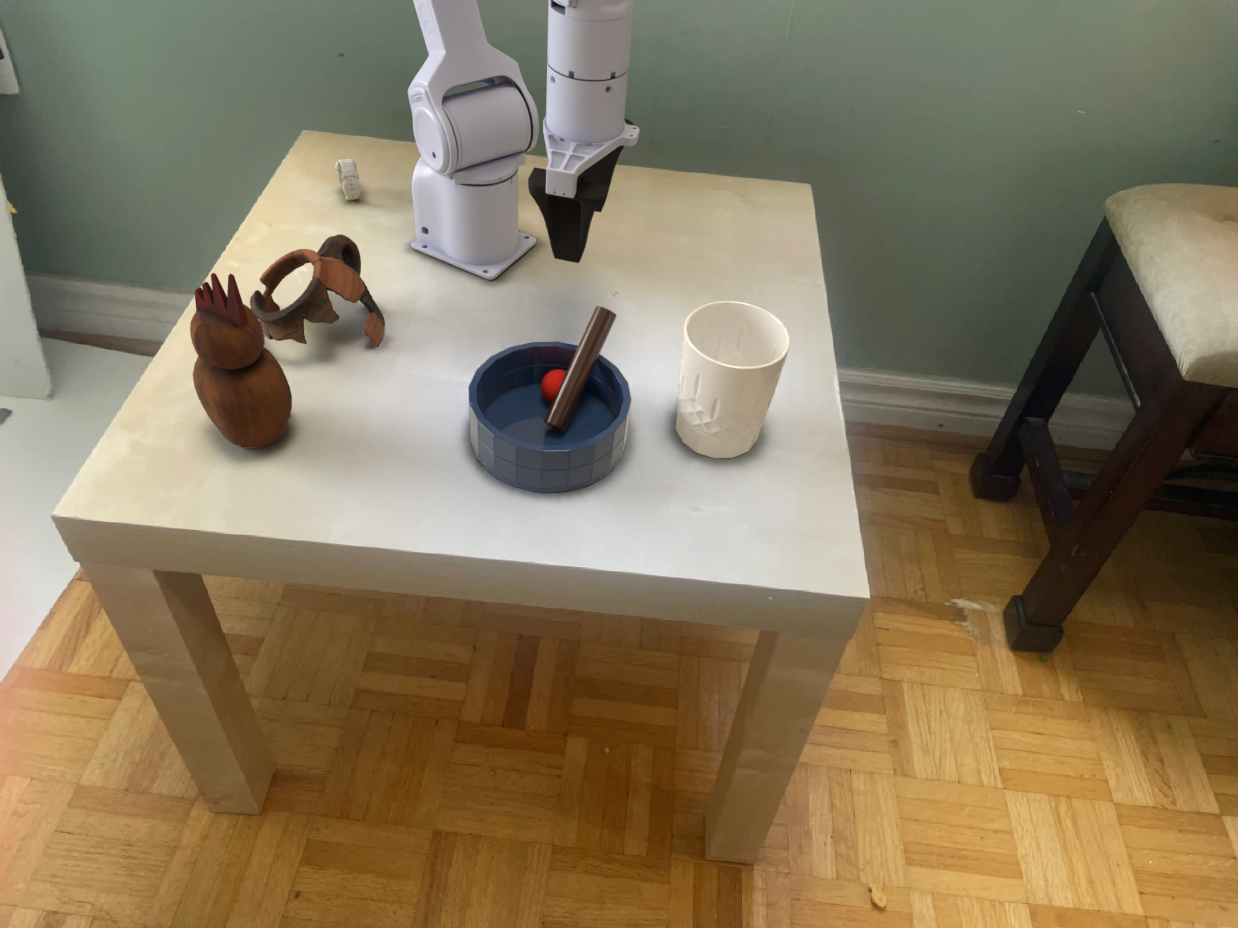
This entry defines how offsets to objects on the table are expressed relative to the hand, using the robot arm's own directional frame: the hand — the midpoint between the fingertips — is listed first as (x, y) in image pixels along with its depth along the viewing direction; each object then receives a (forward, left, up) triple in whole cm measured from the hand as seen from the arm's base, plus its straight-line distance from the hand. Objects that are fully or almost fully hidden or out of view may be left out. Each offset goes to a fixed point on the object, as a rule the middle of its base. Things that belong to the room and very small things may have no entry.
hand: (579, 232), depth 74 cm
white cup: (+16, -4, -11) cm, 20 cm away
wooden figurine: (-14, -24, -11) cm, 30 cm away
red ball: (+4, -8, -9) cm, 13 cm away
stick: (+5, -12, -9) cm, 16 cm away
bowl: (+5, -12, -10) cm, 17 cm away
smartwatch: (-30, +6, -11) cm, 32 cm away
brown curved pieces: (-18, -11, -11) cm, 24 cm away
